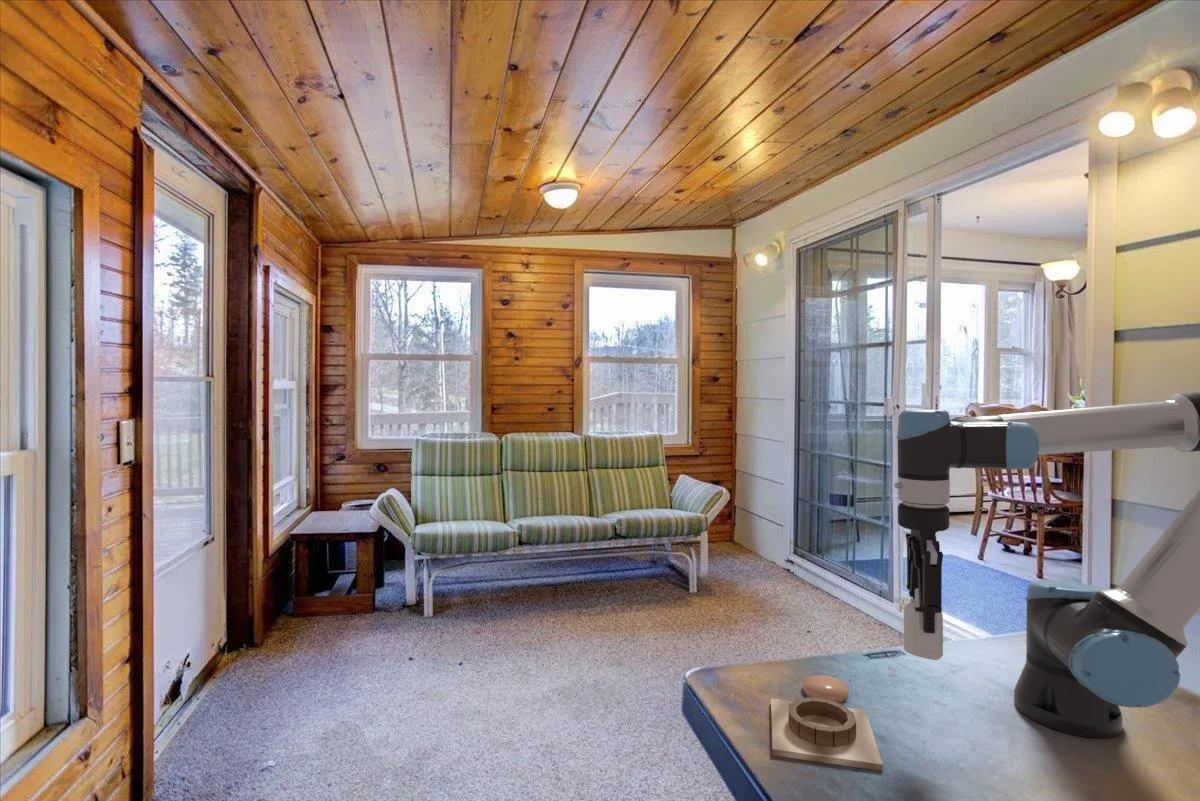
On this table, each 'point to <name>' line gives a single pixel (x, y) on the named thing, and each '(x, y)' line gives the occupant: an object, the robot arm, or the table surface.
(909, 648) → the eye dropper bottle
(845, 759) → the ring collar
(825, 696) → the peach domed part
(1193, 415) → the robot arm
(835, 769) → the table surface
